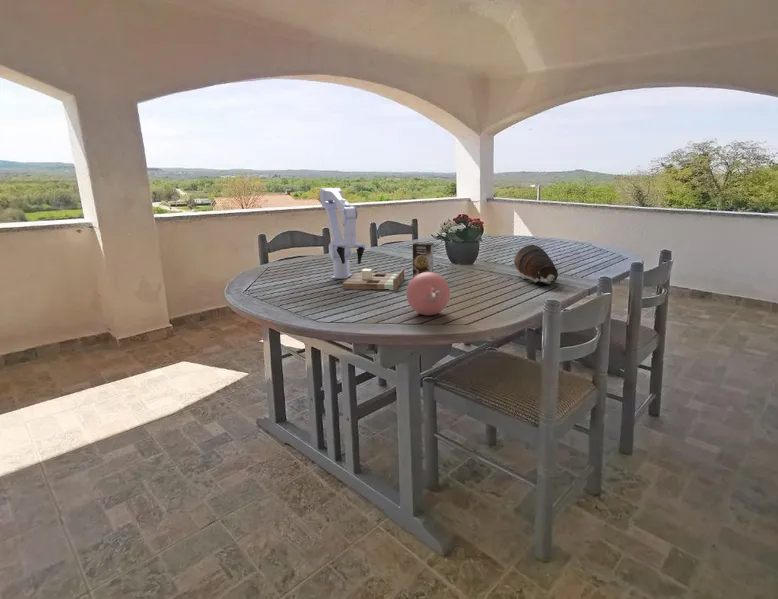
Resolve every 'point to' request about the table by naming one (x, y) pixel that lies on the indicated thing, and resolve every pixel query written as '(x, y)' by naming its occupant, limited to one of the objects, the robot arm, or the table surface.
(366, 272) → the block
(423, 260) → the cookie box
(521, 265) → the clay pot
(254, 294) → the table surface
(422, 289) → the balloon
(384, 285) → the deck
